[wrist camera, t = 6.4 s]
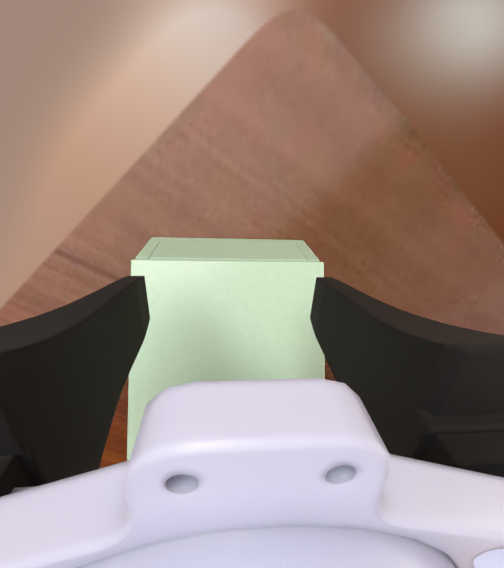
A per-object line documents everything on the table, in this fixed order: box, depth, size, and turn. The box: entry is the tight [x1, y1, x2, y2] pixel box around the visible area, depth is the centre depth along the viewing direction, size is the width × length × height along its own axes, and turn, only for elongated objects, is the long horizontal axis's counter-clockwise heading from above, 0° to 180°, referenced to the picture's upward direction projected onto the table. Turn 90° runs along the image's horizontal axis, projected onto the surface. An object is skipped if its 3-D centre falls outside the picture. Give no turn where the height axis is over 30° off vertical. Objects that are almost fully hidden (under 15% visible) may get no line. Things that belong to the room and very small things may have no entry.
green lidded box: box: [135, 237, 319, 262], centre depth 22 cm, size 13×12×4 cm
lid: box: [127, 260, 325, 461], centre depth 15 cm, size 13×12×5 cm
